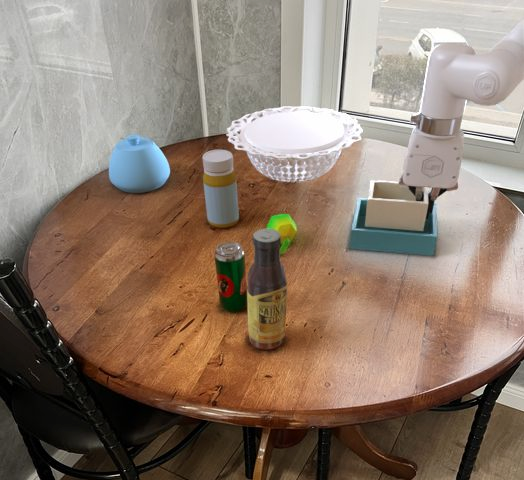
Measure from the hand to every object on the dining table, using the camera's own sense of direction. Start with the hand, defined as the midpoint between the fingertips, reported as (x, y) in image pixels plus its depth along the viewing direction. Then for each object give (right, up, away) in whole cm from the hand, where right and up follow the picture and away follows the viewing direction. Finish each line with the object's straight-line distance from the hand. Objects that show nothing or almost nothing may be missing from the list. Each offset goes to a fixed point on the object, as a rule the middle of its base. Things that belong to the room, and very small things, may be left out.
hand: (422, 214), depth 109 cm
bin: (-5, -3, +4) cm, 7 cm away
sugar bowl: (-63, +15, +27) cm, 70 cm away
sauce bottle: (-31, -26, -18) cm, 45 cm away
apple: (-28, -5, +4) cm, 29 cm away
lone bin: (-5, 0, +2) cm, 6 cm away
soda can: (-38, -19, -11) cm, 44 cm away
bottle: (-41, +1, +11) cm, 43 cm away
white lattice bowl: (-25, +14, +25) cm, 38 cm away
